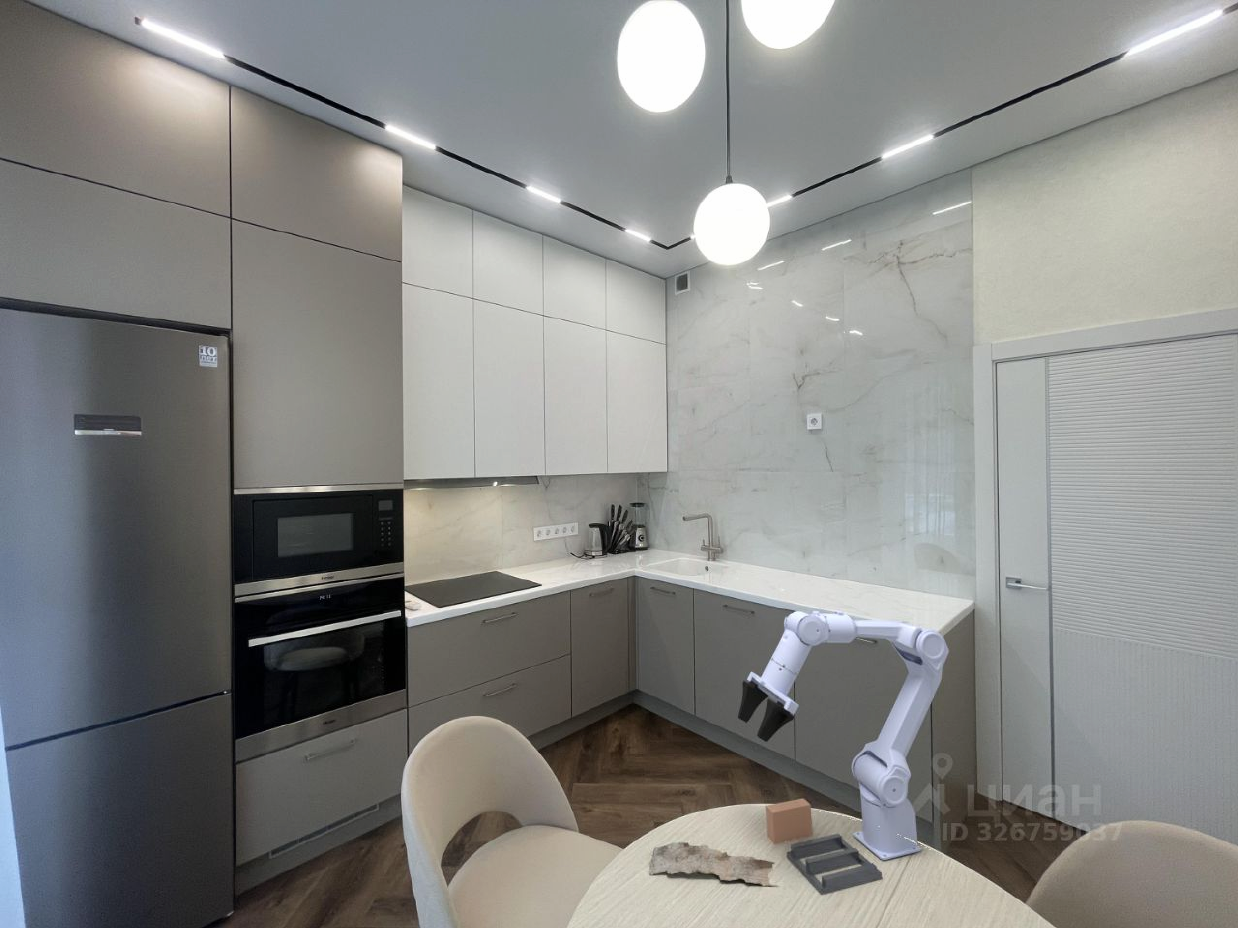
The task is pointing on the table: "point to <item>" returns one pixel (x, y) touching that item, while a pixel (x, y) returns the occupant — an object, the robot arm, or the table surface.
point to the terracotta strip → (789, 821)
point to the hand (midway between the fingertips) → (751, 729)
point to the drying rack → (832, 864)
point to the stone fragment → (709, 863)
